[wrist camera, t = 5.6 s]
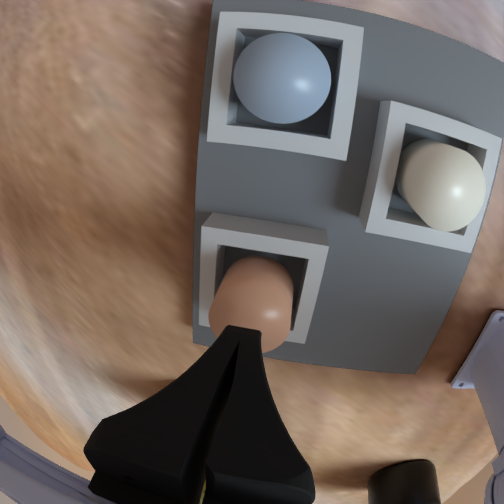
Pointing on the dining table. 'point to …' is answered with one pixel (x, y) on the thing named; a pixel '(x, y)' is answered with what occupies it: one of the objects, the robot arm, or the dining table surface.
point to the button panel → (341, 181)
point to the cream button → (440, 184)
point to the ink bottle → (405, 484)
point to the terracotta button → (255, 300)
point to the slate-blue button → (282, 78)
